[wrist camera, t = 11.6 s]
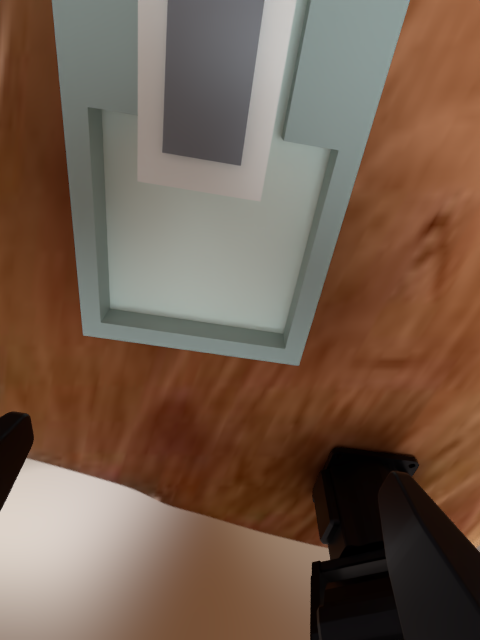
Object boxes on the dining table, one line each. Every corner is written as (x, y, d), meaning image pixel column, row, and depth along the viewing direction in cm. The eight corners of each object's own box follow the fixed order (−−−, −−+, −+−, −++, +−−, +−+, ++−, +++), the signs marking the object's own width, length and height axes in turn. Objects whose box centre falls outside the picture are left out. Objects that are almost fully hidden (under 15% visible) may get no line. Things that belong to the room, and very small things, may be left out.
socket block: (300, -76, 12) (331, -190, 7) (258, 172, 16) (260, 203, 12) (183, -100, 12) (135, -234, 7) (171, 157, 16) (135, 182, 11)
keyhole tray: (425, -111, 12) (454, -146, 10) (295, 345, 22) (298, 365, 20) (63, -189, 11) (29, -239, 10) (96, 316, 21) (83, 335, 20)
